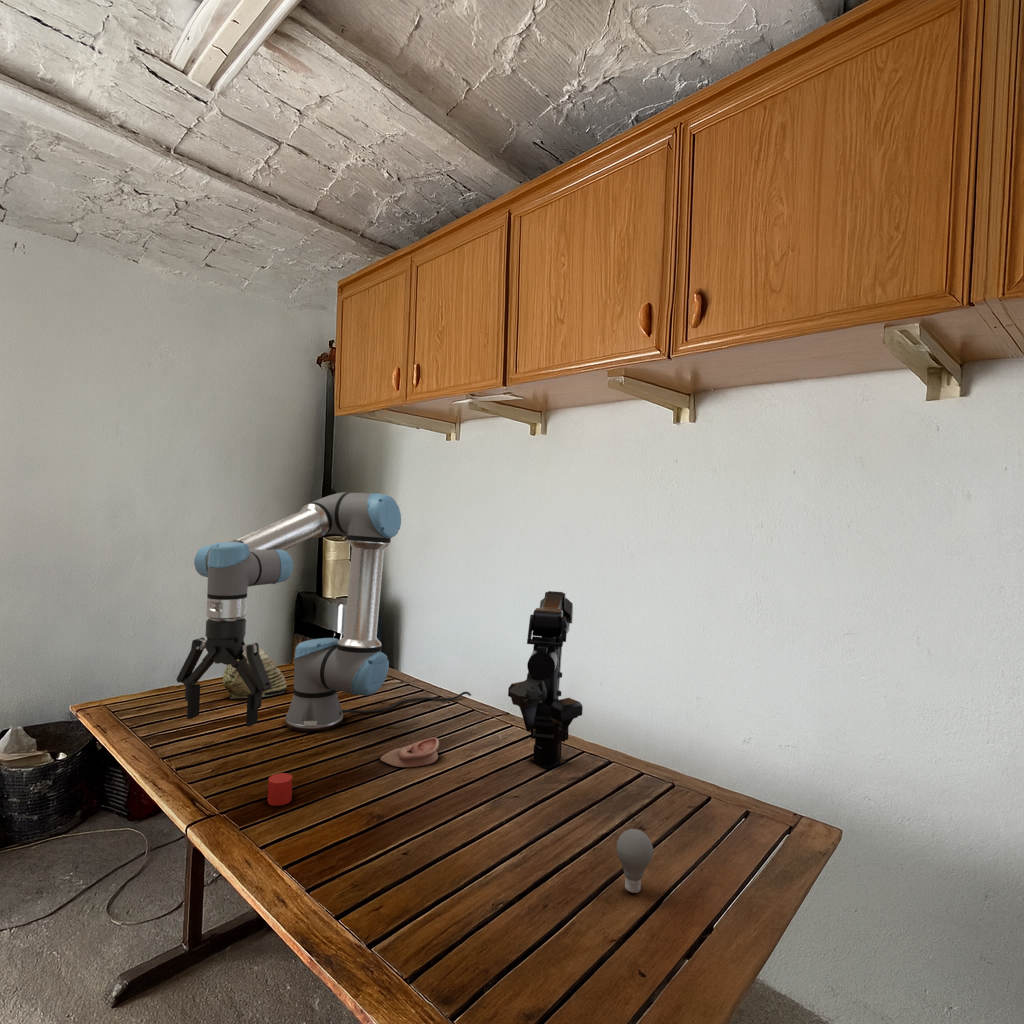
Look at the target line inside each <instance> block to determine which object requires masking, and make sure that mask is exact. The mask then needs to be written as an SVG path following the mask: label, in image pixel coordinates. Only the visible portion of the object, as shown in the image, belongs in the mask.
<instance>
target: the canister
mask: <svg viewBox="0 0 1024 1024" xmlns="http://www.w3.org/2000/svg"><path fill="white" fill-rule="evenodd" d="M292 799H293V775H292V774H290V773H286V772H279V773H275V774H272V775H270V776H269V777H268V781H267V804H268V805H270V806H274V807H279V806H285V805H288V804H289V803H290V802H291V801H292Z"/></svg>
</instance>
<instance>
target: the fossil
mask: <svg viewBox="0 0 1024 1024" xmlns="http://www.w3.org/2000/svg"><path fill="white" fill-rule="evenodd" d="M243 655H244V656H245V658H246V659H247V655H246V654H245V651H244V652H243ZM259 655H260V657H261V660H262V662H263V665H264V667H265V670H266V673H267V675H268V678H269V680H270V683H271V688H270V689H268V690H266V691H264V692H262V698H264V697H271V696H275V695H281V694H284V693H285V691H286V689H287V687H288V686H287V680H286V678H285V676H284V674H283V673H282V672H281V669H279V668H278V667H277V665H276V663H275V662H274V660H273V659H272V658H271V657H270V656H269V655H268V654H267V653H266V652H265V650H264V649H263V648H260V647H259ZM237 661H239V659H238V660H237ZM247 663H248V665H249V666H250V664H249V662H248V659H247ZM225 665H226V664H225ZM250 668H251V667H250ZM222 676H223V677H222V685H223V687H224V688H225V690H226V691H228V693H229V698H230V699H247V694H249V693H251V691H250V690H249V688H248V687H247V685H246V684H245V682H244V681H243V679H242V678H241V676H240V675H239V673H238V672H237V670H236V669H235V668H233V667H232V666H231V664H229V665H226V666H225V668H224V671H223V675H222Z"/></svg>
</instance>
